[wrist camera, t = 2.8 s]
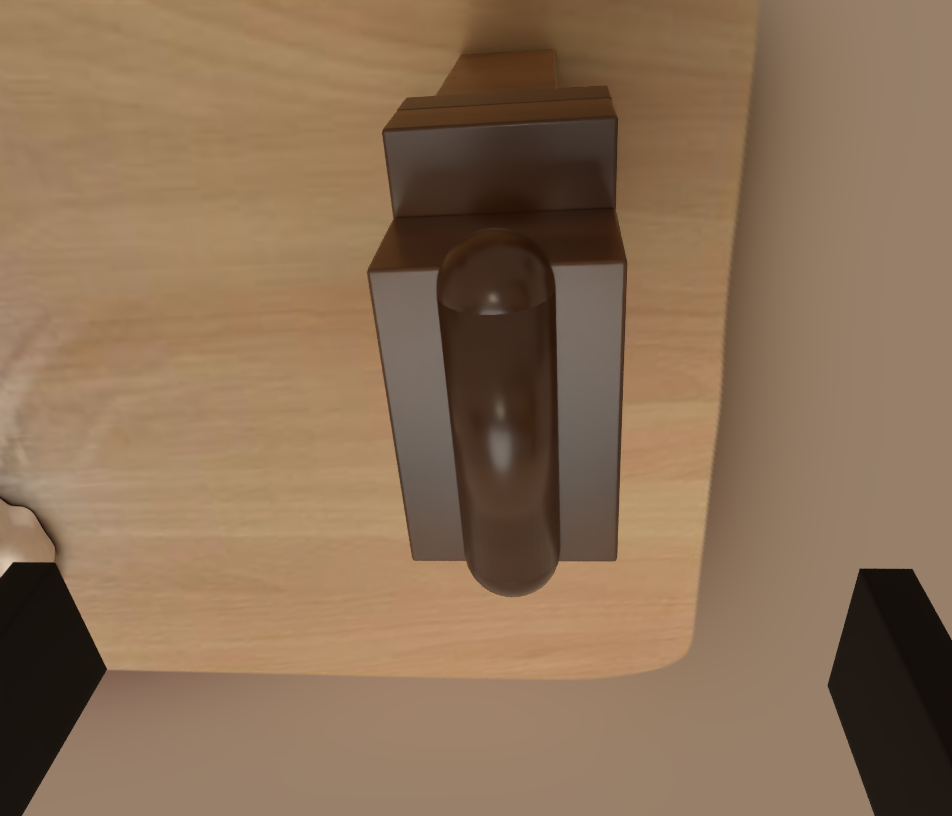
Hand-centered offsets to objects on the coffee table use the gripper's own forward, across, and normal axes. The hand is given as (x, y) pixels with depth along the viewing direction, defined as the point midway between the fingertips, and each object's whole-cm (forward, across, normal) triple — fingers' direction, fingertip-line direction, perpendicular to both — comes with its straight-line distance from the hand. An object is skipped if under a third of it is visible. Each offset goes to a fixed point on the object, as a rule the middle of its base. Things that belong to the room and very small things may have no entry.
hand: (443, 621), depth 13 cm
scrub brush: (+12, +1, 0) cm, 12 cm away
